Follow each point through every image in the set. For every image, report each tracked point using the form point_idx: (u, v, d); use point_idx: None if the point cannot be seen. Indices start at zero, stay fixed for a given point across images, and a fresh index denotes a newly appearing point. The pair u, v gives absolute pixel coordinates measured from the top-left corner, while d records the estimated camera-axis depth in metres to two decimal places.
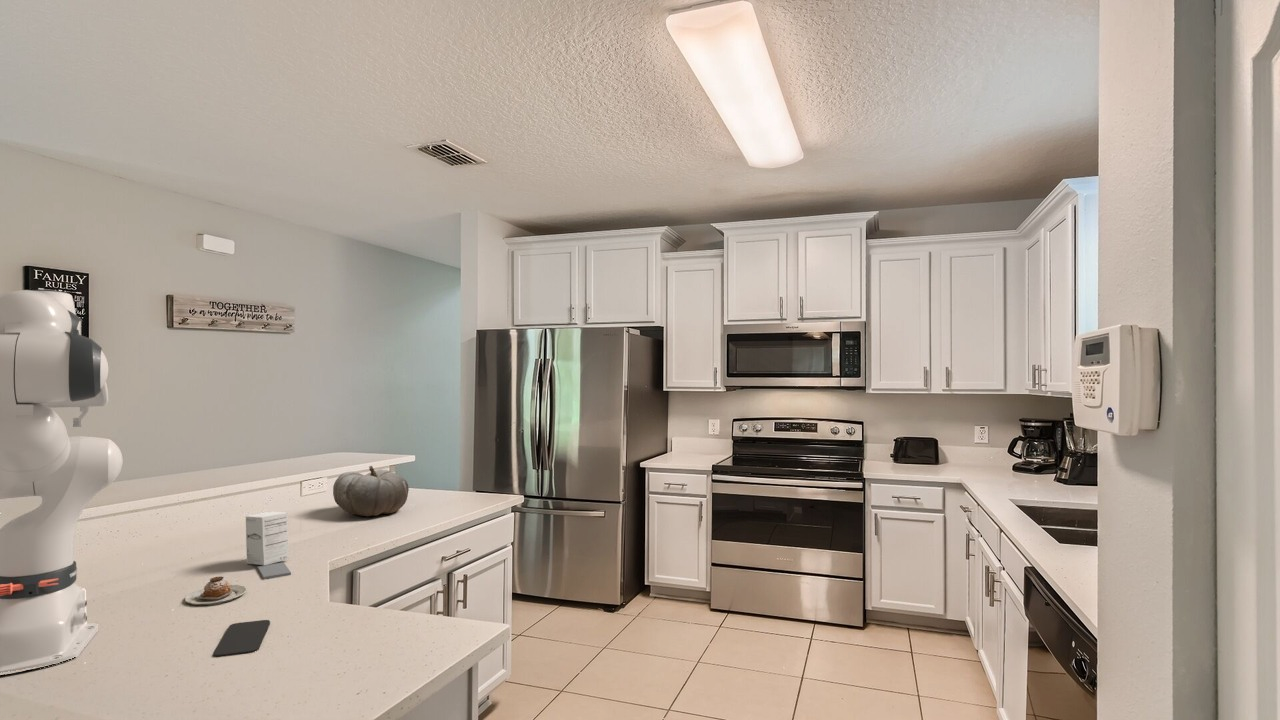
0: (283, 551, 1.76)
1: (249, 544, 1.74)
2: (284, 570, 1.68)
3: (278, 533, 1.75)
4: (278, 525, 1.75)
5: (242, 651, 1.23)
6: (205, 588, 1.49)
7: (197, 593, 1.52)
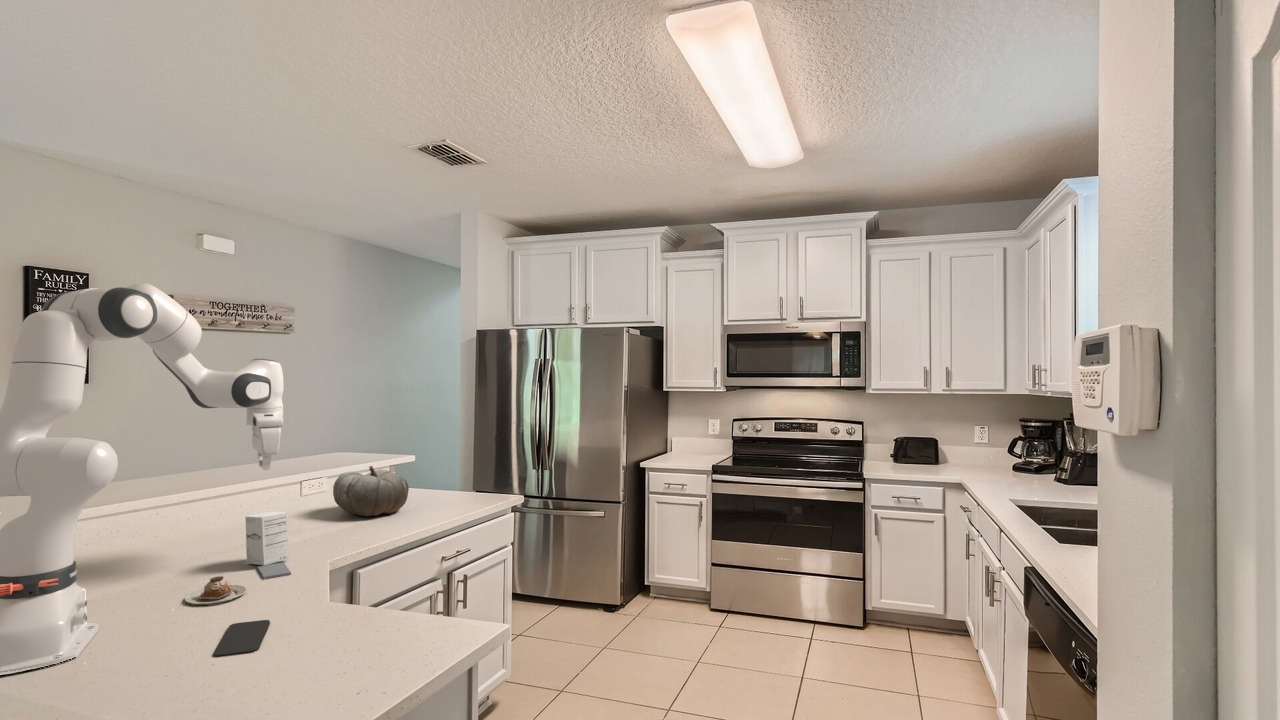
0: (283, 551, 1.76)
1: (249, 544, 1.74)
2: (284, 570, 1.68)
3: (278, 533, 1.75)
4: (278, 525, 1.75)
5: (242, 651, 1.23)
6: (205, 588, 1.49)
7: (197, 593, 1.52)
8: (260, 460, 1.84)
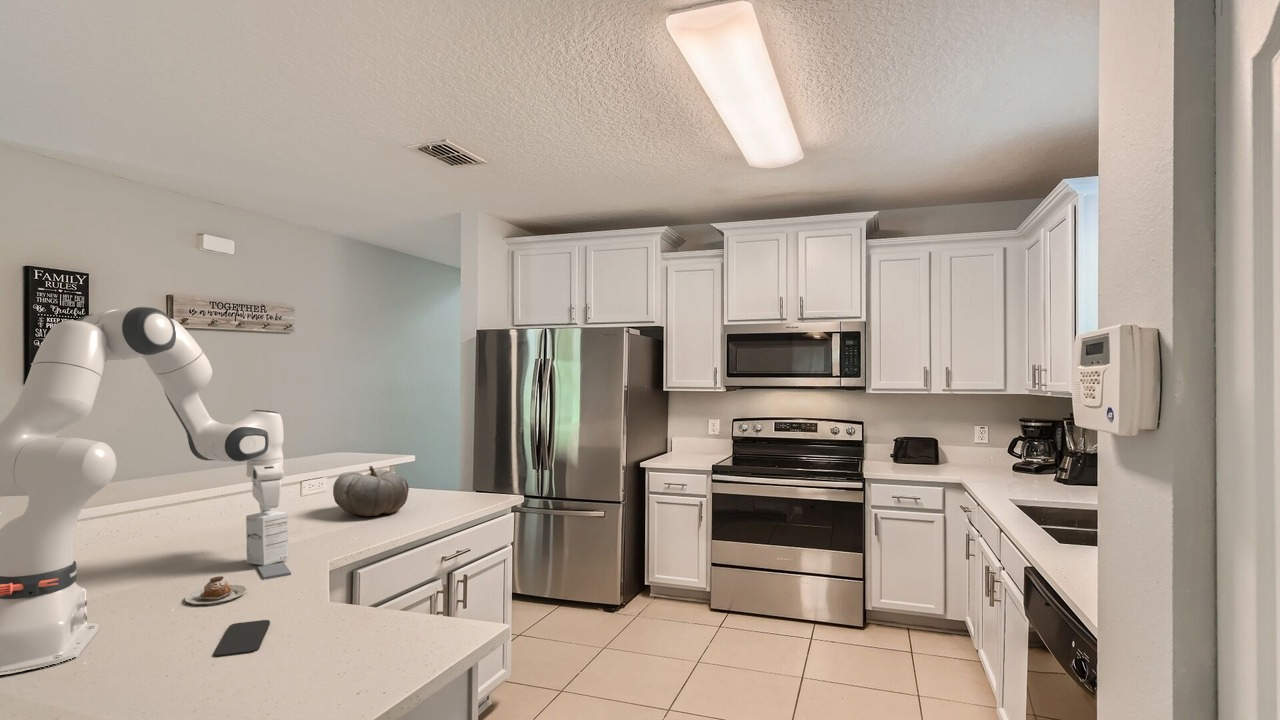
0: (283, 551, 1.76)
1: (249, 543, 1.73)
2: (284, 570, 1.68)
3: (279, 533, 1.75)
4: (279, 525, 1.75)
5: (242, 651, 1.23)
6: (205, 588, 1.49)
7: (197, 593, 1.52)
8: None
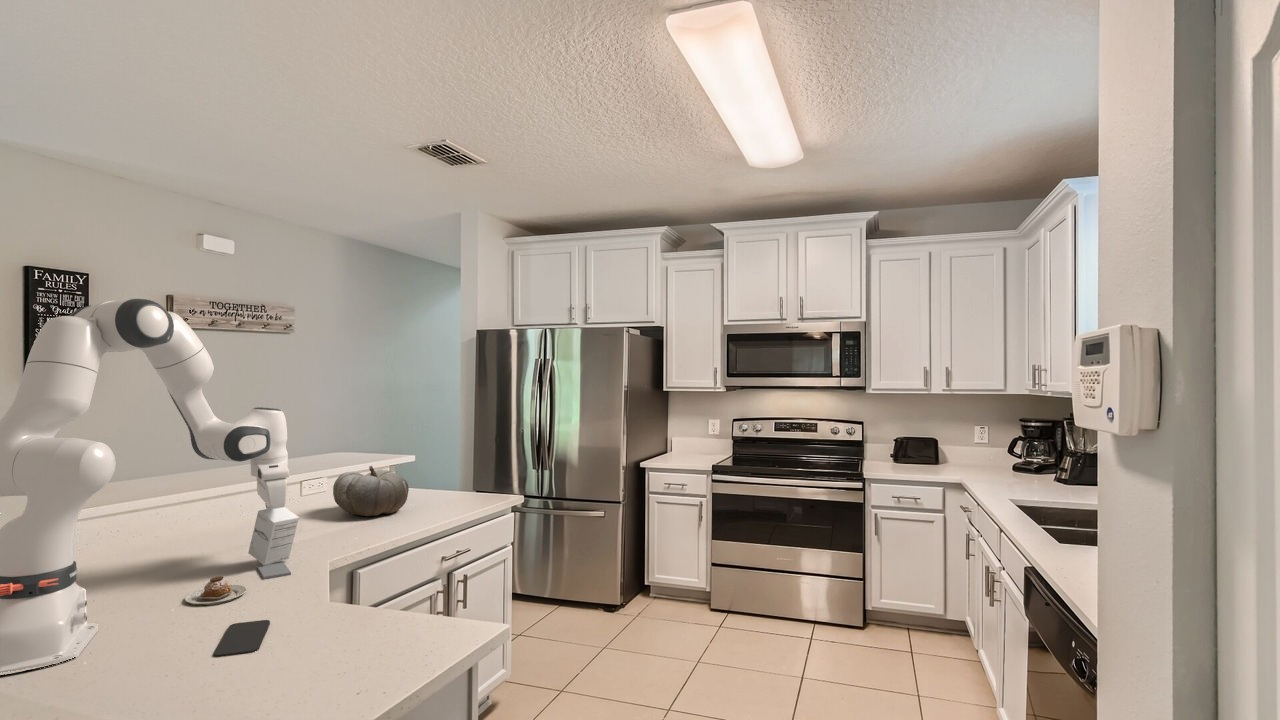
0: (286, 552, 1.76)
1: (255, 538, 1.72)
2: (284, 570, 1.68)
3: (285, 536, 1.74)
4: (287, 529, 1.73)
5: (242, 651, 1.23)
6: (205, 588, 1.49)
7: (197, 593, 1.52)
8: None
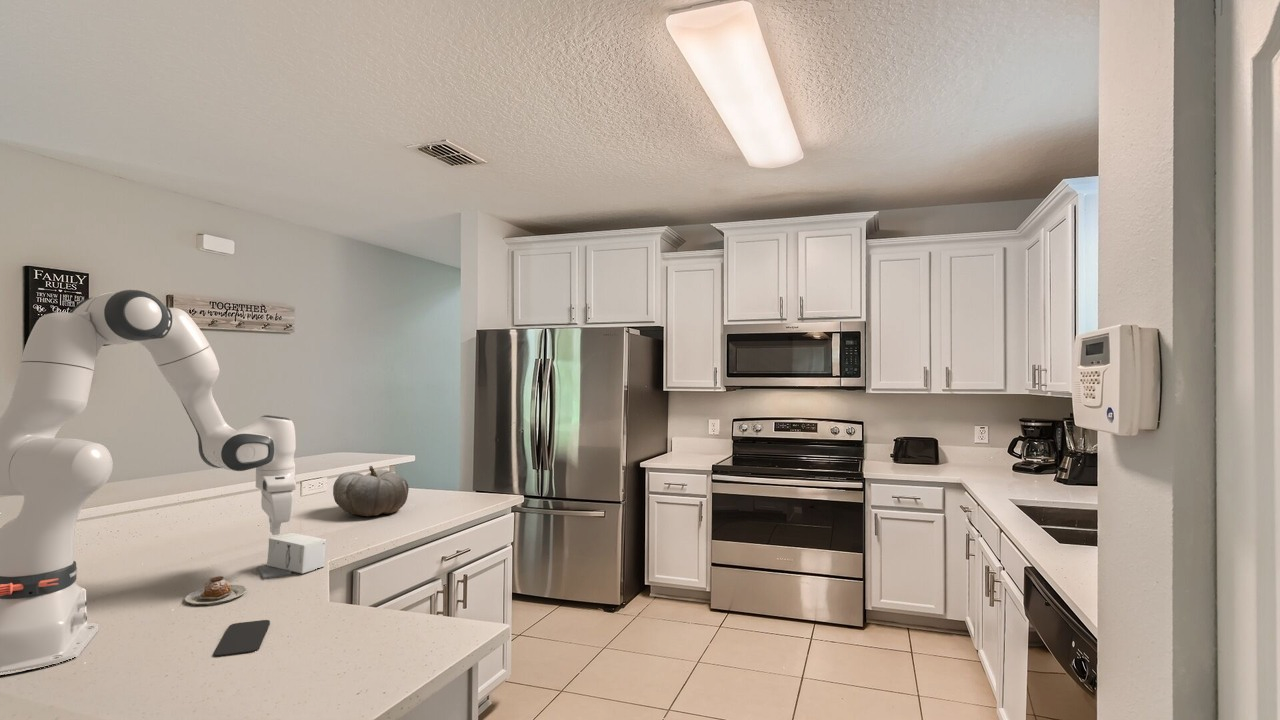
0: None
1: (282, 547, 1.69)
2: (284, 570, 1.68)
3: None
4: None
5: (242, 651, 1.23)
6: (205, 588, 1.49)
7: (197, 593, 1.52)
8: (272, 526, 1.68)
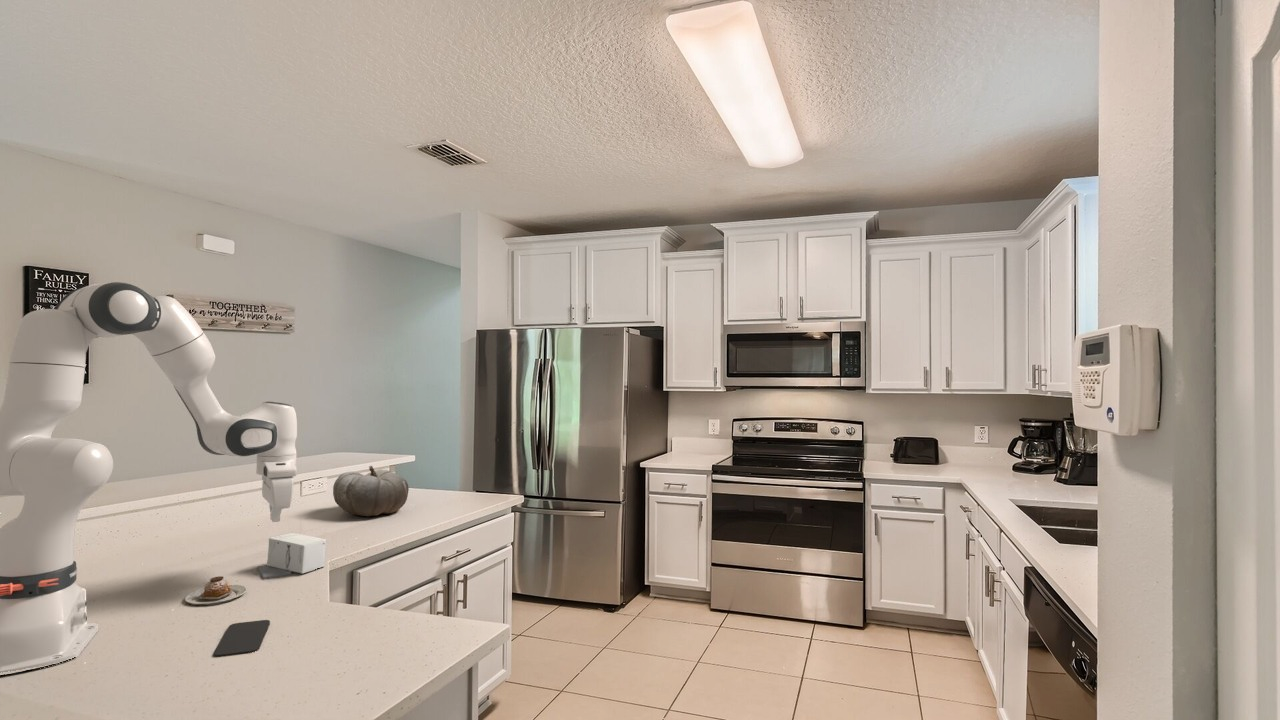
0: None
1: (282, 547, 1.69)
2: (284, 570, 1.68)
3: None
4: None
5: (242, 651, 1.23)
6: (205, 588, 1.49)
7: (197, 593, 1.52)
8: (272, 513, 1.67)
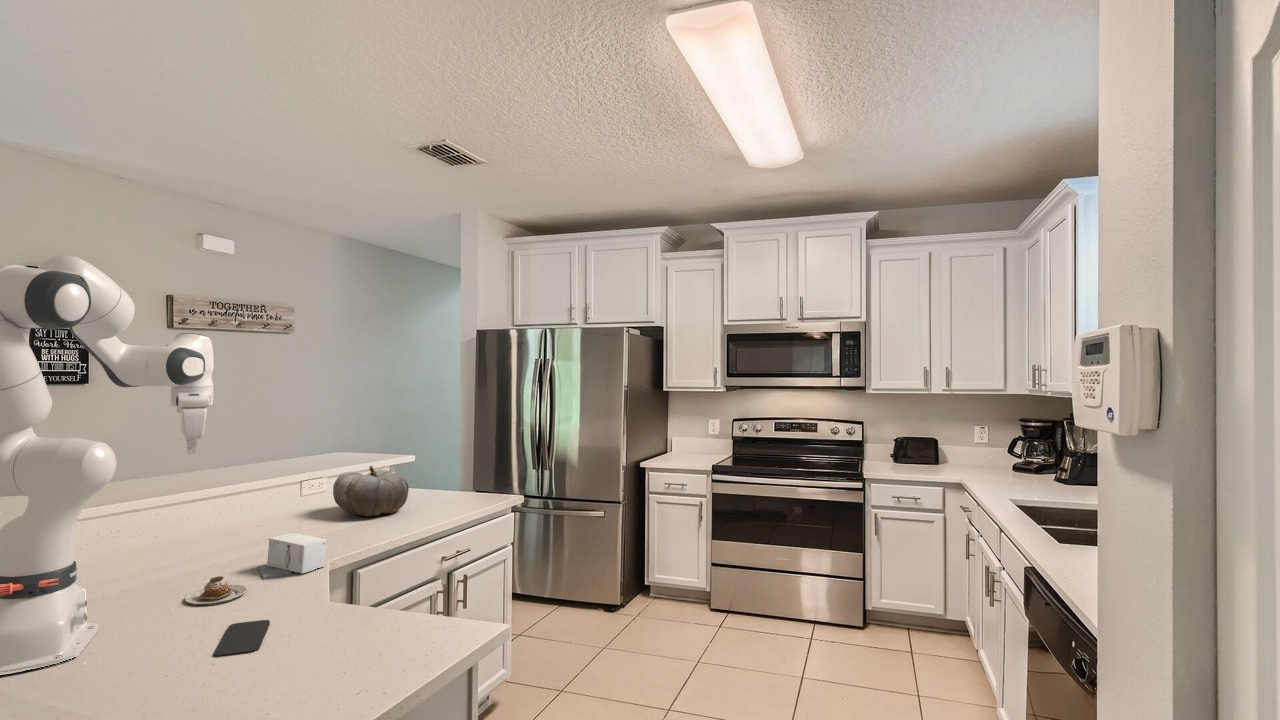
0: None
1: (282, 547, 1.69)
2: (284, 570, 1.68)
3: None
4: None
5: (242, 651, 1.23)
6: (205, 588, 1.49)
7: (197, 593, 1.52)
8: None
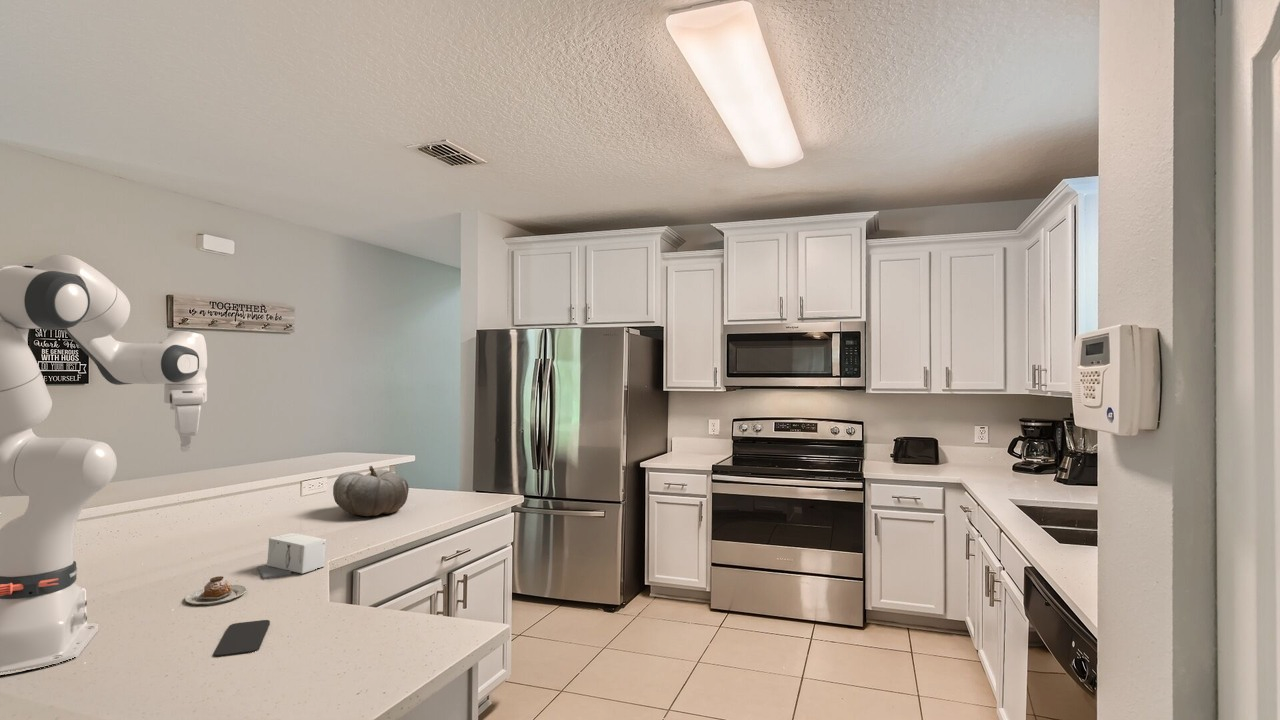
0: None
1: (282, 547, 1.69)
2: (284, 570, 1.68)
3: None
4: None
5: (242, 651, 1.23)
6: (205, 588, 1.49)
7: (197, 593, 1.52)
8: None
